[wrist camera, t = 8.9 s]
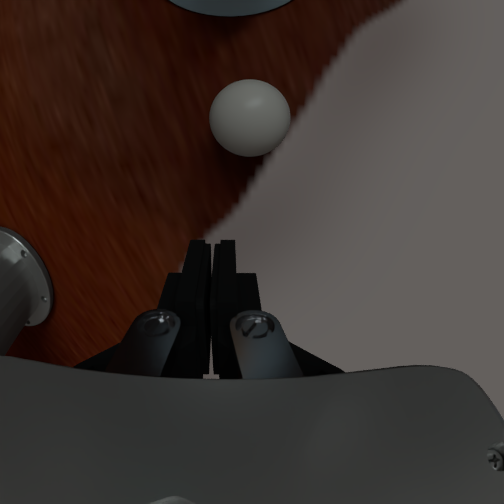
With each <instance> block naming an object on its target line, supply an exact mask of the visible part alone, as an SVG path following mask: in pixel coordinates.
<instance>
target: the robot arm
mask: <svg viewBox="0 0 504 504" xmlns="http://www.w3.org/2000/svg"><path fill="white" fill-rule="evenodd" d="M52 305H53V288H52V284H51V280H50V277H49V274H48V272H47V270H46V268H45V266H44V264H43V262H42V260H41V258H40V257H39V255H38V254H37V252H36V251H35V250H34V249H33V248H32V246H31V245H30V244H29V243H28V242H27V241H26V240H25V239H24V238H23V237H21V236H20V235H19V234H17V233H16V232H14V231H12V230H10V229H7V228H4V227H0V504H504V420H503V418H502V417H501V415H500V413H499V412H498V410H497V409H496V407H495V406H494V404H493V403H492V401H491V400H490V398H489V397H488V396H487V394H486V393H485V392H484V391H483V389H482V388H481V387H480V386H479V385H478V384H477V383H476V382H475V381H474V380H473V379H472V378H471V377H469V376H468V375H467V374H465V373H463V372H461V371H458V370H455V369H451V368H446V367H439V366H432V365H410V366H397V367H389V368H381V369H372V370H363V371H355V372H344V371H342V370H341V369H339V368H338V367H336V366H334V365H332V364H330V363H328V362H326V361H324V360H322V359H320V358H318V357H316V356H314V355H313V354H311V353H309V352H307V351H305V350H303V349H302V348H300V347H298V346H296V345H294V344H292V343H291V342H289V341H288V340H287V338H286V335H285V333H284V331H283V329H282V327H281V324H280V322H279V321H278V320H277V318H276V317H274V316H273V315H272V314H270V313H267V312H264V311H262V310H261V303H260V297H259V290H258V284H257V277H256V273H236V254H235V240H221V243H220V244H215V248H214V259H213V270H212V273H211V244H205V240H190V244H189V247H188V251H187V255H186V258H185V262H184V266H183V270H182V273H168V276H167V279H166V282H165V285H164V288H163V291H162V294H161V298H160V301H159V304H158V307H157V309H154V310H149V311H146V312H143V313H142V314H140V315H138V316H137V317H136V318H135V320H134V321H133V322H132V324H131V326H130V327H129V329H128V331H127V333H126V334H125V336H124V338H123V339H122V341H121V342H120V343H118V344H117V345H115V346H113V347H111V348H109V349H107V350H105V351H103V352H101V353H99V354H97V355H95V356H93V357H91V358H89V359H87V360H85V361H83V362H81V363H79V364H77V365H76V366H74V367H67V366H61V365H56V364H50V363H45V362H40V361H34V360H28V359H22V358H17V357H11V356H5V354H6V353H7V351H8V350H9V348H10V347H11V345H12V343H13V342H14V340H15V339H16V337H17V336H18V334H19V333H20V331H21V330H22V329H23V327H24V326H35V325H38V324H40V323H42V322H43V321H44V320H45V319H46V317H47V316H48V314H49V313H50V311H51V308H52ZM211 339H212V354H213V355H212V356H213V371H214V374H219V379H203V374H209V363H210V343H211Z"/></svg>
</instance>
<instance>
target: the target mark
mask: <svg viewBox="0 0 504 504" xmlns="http://www.w3.org/2000/svg"><path fill="white" fill-rule="evenodd" d="M169 1H171V2H173V3H174V4H176V5H178V6H180V7H183V8H185V9H187V10H191V11H194V12H197V13H202V14H206V15H214V16H245V15H252V14H257V13H261V12H266V11H269V10H272V9H274V8H277V7H279V6H282V5H284V4H286V3H288V2H289V1H291V0H169Z"/></svg>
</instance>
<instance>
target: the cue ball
mask: <svg viewBox="0 0 504 504" xmlns="http://www.w3.org/2000/svg"><path fill="white" fill-rule="evenodd" d="M209 121H210V127H211V130H212V133H213V135H214V137H215V138H216V140H217V141H218V142H219V144H220V145H221V146H223V147H224V148H225V149H226V150H228V151H230V152H232V153H234V154H236V155H240V156H246V157H253V156H259V155H263V154H266V153H268V152H270V151H272V150H273V149H275V148H276V147H277V146H278V145H279V144H280V143H281V142H282V141H283V139H284V138H285V136H286V134H287V132H288V129H289V126H290V110H289V106H288V104H287V102H286V100H285V98H284V97H283V95H282V94H281V93H280V92H279V91H278V90H277V89H276V88H275V87H273V86H271V85H270V84H268V83H266V82H263V81H259V80H252V79H251V80H240V81H237V82H234V83H232V84H230V85H228V86H227V87H225V88H224V89H223V90H222V91H221V92H220V93H219V94H218V95H217V96H216V98H215V99H214V101H213V103H212V106H211V109H210V115H209Z"/></svg>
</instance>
